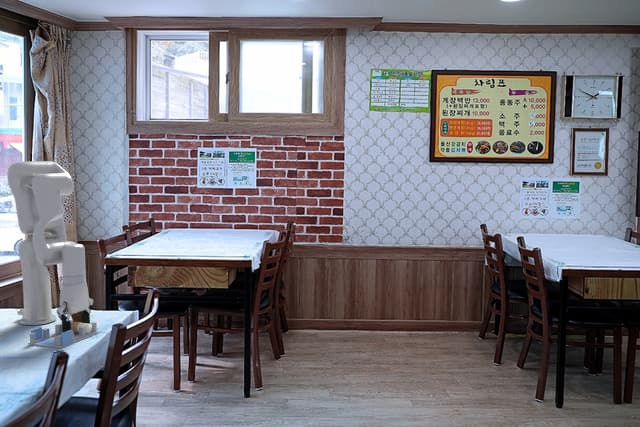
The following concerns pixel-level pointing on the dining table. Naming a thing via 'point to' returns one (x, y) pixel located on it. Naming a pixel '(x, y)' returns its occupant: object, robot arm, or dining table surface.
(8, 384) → the dining table surface
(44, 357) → the dining table surface
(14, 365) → the dining table surface
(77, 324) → the white rounded bar
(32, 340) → the blue and grey tray
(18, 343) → the dining table surface
